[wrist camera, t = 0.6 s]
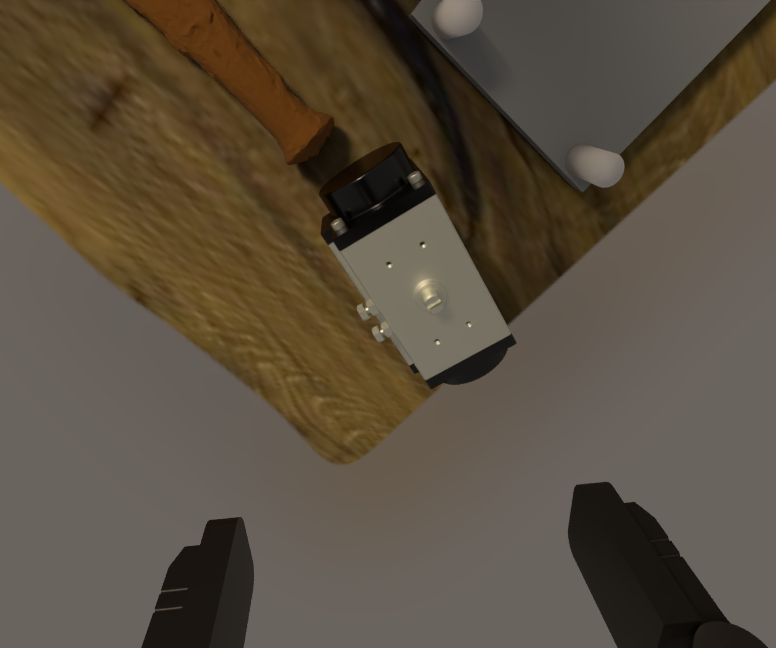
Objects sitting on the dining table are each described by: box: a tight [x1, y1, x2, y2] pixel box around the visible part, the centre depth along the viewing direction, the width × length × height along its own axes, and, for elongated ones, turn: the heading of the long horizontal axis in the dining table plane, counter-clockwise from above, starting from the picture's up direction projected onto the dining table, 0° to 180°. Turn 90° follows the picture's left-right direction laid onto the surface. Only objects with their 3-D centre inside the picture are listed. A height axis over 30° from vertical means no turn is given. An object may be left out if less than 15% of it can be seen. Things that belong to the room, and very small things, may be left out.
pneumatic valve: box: [319, 142, 516, 389], centre depth 28 cm, size 6×12×12 cm, turn 30°
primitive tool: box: [124, 0, 334, 165], centre depth 26 cm, size 19×6×4 cm, turn 46°
